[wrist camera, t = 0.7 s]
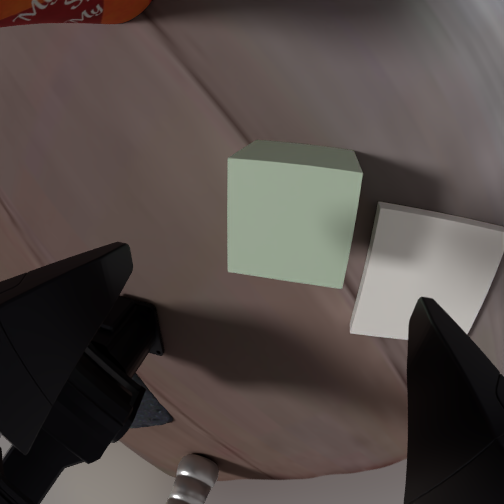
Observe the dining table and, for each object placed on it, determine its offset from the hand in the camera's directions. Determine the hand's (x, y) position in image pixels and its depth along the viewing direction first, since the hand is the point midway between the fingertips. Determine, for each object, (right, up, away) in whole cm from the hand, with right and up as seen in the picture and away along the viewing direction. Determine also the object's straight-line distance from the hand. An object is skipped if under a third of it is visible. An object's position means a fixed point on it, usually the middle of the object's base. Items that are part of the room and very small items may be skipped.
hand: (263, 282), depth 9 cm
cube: (+3, +5, +11) cm, 12 cm away
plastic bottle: (-8, -33, +35) cm, 49 cm away
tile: (+12, -1, +11) cm, 17 cm away
